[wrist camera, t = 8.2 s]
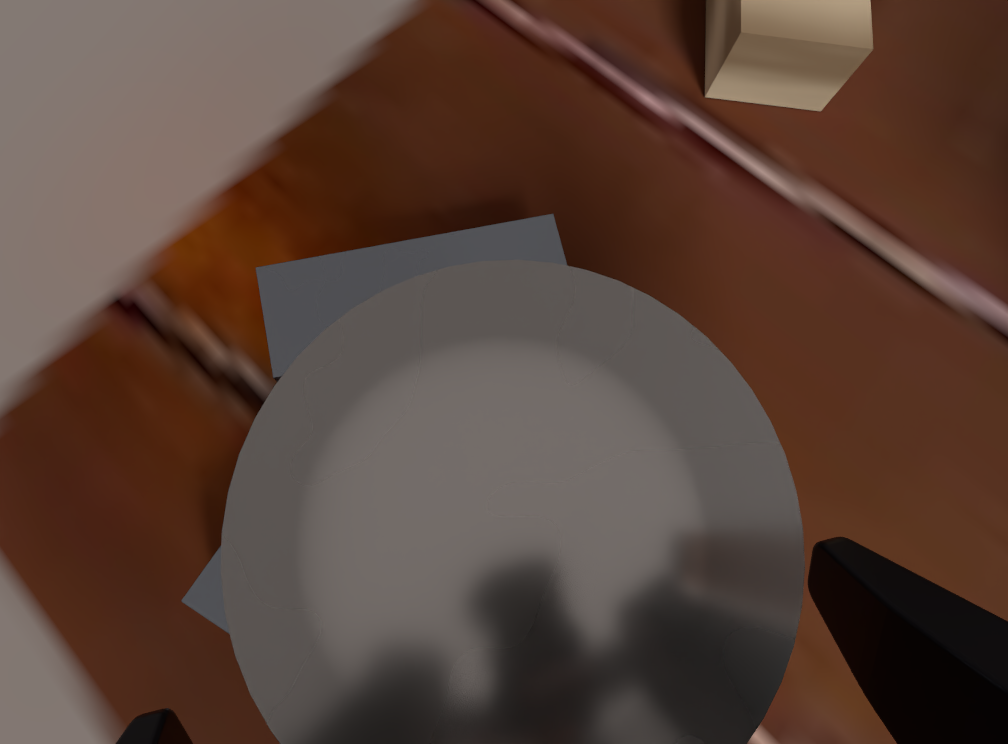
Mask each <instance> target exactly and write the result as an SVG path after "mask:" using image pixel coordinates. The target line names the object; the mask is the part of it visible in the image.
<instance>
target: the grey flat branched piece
mask: <svg viewBox="0 0 1008 744" xmlns="http://www.w3.org/2000/svg"><path fill="white" fill-rule="evenodd" d="M496 260H527V261H539V262H551V263H556V264H561V265H566V266H567V263H566V259H565V256H564V252H563V248H562V244H561V241H560V237H559V233H558V230H557V226H556V222H555V219H554V215H553V214H549V215H544V216H538V217H533V218H527V219H522V220H516V221H510V222H505V223H499V224H494V225H488V226H483V227H477V228H472V229H466V230H461V231H455V232H450V233H444V234H439V235H433V236H428V237H422V238H417V239H411V240H405V241H400V242H394V243H389V244H383V245H378V246H372V247H367V248H361V249H356V250H350V251H345V252H339V253H334V254H328V255H323V256H317V257H312V258H306V259H301V260H295V261H289V262H284V263H278V264H273V265H267V266H262V267H256V273H257V279H258V285H259V292H260V298H261V304H262V310H263V317H264V323H265V329H266V335H267V341H268V348H269V354H270V360H271V366H272V373H273V378H274V379H275V380H276V381H277V382H278V381H279V379H280V378H281V377H282V375H283V374H284V373H285V372H286V370H287V369H288V368H289V367H290V365H291V364H292V363H293V361H294V360H295V359H296V358H297V356H298V355H299V354H300V353H301V352H302V351H303V350H304V349H305V348H306V347H307V346H308V345H309V344H310V343H311V342H313V341H314V340H315V339H316V338H317V337H318V336H319V335H320V334H321V333H322V332H323V331H324V330H325V329H326V328H327V327H329V326H330V325H331V324H333V323H334V322H335V321H337V320H338V319H339V318H341V317H342V316H343V315H344V314H346V313H347V312H348V311H350V310H351V309H352V308H354V307H356V306H357V305H359V304H361V303H362V302H364V301H366V300H367V299H369V298H371V297H373V296H374V295H376V294H378V293H379V292H381V291H383V290H385V289H387V288H390V287H392V286H394V285H397V284H399V283H401V282H404V281H406V280H408V279H410V278H413V277H415V276H418V275H422V274H425V273H429V272H432V271H435V270H439V269H442V268H446V267H449V266H455V265H462V264H468V263H474V262H480V261H496ZM182 602H183V603H185V604H186V605H187V606H189V607H190V608H192V609H193V610H195V611H196V612H198V613H199V614H201V615H202V616H204V617H205V618H207V619H208V620H210V621H211V622H213V623H214V624H216V625H217V626H219V627H220V628H222V629H223V630H225V631H226V632H227V633H229V634H230V632H229V628H228V624H227V620H226V616H225V609H224V600H223V590H222V580H221V546H220V548H219V549H218V550H217V552H216V553H215V555H214V556H213V557H212V559H211V560H210V562H209V563H208V564H207V566H206V567H205V568H204V570H203V571H202V573H201V574H200V575H199V577H198V578H197V580H196V581H195V582H194V584H193V585H192V587H191V588H190V589H189V591H188V592H187V594H186V595H185V596H184V598H183V599H182Z"/></svg>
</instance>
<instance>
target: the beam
mask: <svg viewBox="0 0 1008 744" xmlns="http://www.w3.org/2000/svg"><path fill="white" fill-rule="evenodd" d="M872 50H873V36H872V20H871V3H870V0H706V43H705V97H708V98H717V99H725V100H733V101H741V102H749V103H757V104H765V105H773V106H782V107H790V108H798V109H806V110H814V111H821V110H822V109H823V108H824V107H825V106H826V105H827V103H828V102H829V101H830V100H831V99H832V97H833V96H834V95H835V94H836V93H837V92H838V90H839V89H840V88H841V87H842V86H843V84H844V83H845V82H846V81H847V80H848V78H849V77H850V76H851V75H852V74H853V73H854V71H855V70H856V69H857V68H858V67H859V65H860V64H861V63H862V62H863V61H864V60H865V58H866V57H867V56H868V55H869V54H870V52H871V51H872Z"/></svg>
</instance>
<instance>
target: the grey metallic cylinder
mask: <svg viewBox="0 0 1008 744" xmlns="http://www.w3.org/2000/svg"><path fill="white" fill-rule="evenodd" d="M804 571H805V562H804V542H803V527H802V521H801V515H800V510H799V504H798V498H797V492H796V489H795V485H794V482H793V479H792V475H791V472H790V469H789V465H788V462H787V459H786V456H785V453H784V451H783V449H782V446H781V444H780V442H779V439H778V437H777V435H776V433H775V430H774V428H773V426H772V423H771V421H770V420H769V418H768V416H767V415H766V413H765V411H764V409H763V408H762V406H761V404H760V403H759V401H758V399H757V398H756V396H755V394H754V392H753V391H752V389H751V388H750V387H749V385H748V384H747V383H746V381H745V380H744V379H743V378H742V376H741V375H740V374H739V372H738V371H737V370H736V368H735V367H734V366H733V364H732V363H731V362H730V361H729V360H728V359H727V358H726V357H725V356H724V355H723V353H722V352H721V351H720V350H719V349H718V348H717V347H716V346H715V345H714V344H713V343H712V342H711V341H710V340H709V339H708V338H707V337H706V336H705V335H704V334H702V333H701V332H700V331H699V330H698V329H696V328H695V327H694V326H693V325H691V324H690V323H689V322H688V321H687V320H685V319H684V318H683V317H682V316H680V315H679V314H678V313H676V312H675V311H673V310H671V309H670V308H668V307H667V306H665V305H664V304H662V303H660V302H659V301H657V300H656V299H654V298H653V297H651V296H649V295H647V294H645V293H643V292H641V291H639V290H637V289H635V288H633V287H631V286H628V285H626V284H624V283H622V282H620V281H618V280H615V279H612V278H609V277H606V276H603V275H600V274H597V273H594V272H591V271H588V270H585V269H580V268H576V267H571V266H566V265H561V264H556V263H551V262H539V261H527V260H496V261H480V262H474V263H468V264H462V265H455V266H449V267H446V268H442V269H439V270H435V271H432V272H429V273H425V274H422V275H418V276H415V277H413V278H410V279H408V280H406V281H404V282H401V283H399V284H397V285H394V286H392V287H390V288H387V289H385V290H383V291H381V292H379V293H378V294H376V295H374V296H373V297H371V298H369V299H367V300H366V301H364V302H362V303H361V304H359V305H357V306H356V307H354V308H352V309H351V310H350V311H348V312H347V313H346V314H344V315H343V316H342V317H341V318H339V319H338V320H337V321H335V322H334V323H333V324H331V325H330V326H329V327H327V328H326V329H325V330H324V331H323V332H322V333H321V334H320V335H319V336H318V337H317V338H316V339H315V340H314V341H313V342H311V343H310V344H309V345H308V346H307V347H306V348H305V349H304V350H303V351H302V352H301V353H300V354H299V355H298V356H297V358H296V359H295V360H294V361H293V363H292V364H291V365H290V367H289V368H288V369H287V370H286V372H285V373H284V374H283V375H282V377H281V378H280V379H279V381H278V382H277V383H276V384H275V386H274V387H273V389H272V391H271V392H270V394H269V396H268V397H267V399H266V401H265V402H264V404H263V406H262V407H261V409H260V411H259V412H258V414H257V416H256V417H255V419H254V422H253V424H252V426H251V428H250V431H249V433H248V435H247V437H246V440H245V442H244V444H243V447H242V449H241V451H240V453H239V457H238V460H237V463H236V467H235V470H234V474H233V477H232V480H231V484H230V487H229V491H228V496H227V502H226V508H225V515H224V521H223V527H222V543H221V580H222V590H223V600H224V609H225V616H226V620H227V624H228V628H229V632H230V637H231V641H232V645H233V649H234V653H235V656H236V659H237V661H238V664H239V666H240V669H241V672H242V674H243V677H244V679H245V682H246V684H247V687H248V689H249V692H250V694H251V696H252V698H253V700H254V702H255V703H256V705H257V707H258V709H259V710H260V712H261V714H262V716H263V718H264V719H265V721H266V723H267V725H268V727H269V728H270V730H271V732H272V733H273V734H274V736H275V737H276V738H277V740H278V741H279V742H280V744H747V742H748V741H749V739H750V738H751V736H752V735H753V733H754V732H755V730H756V729H757V728H758V726H759V725H760V723H761V722H762V720H763V719H764V717H765V714H766V712H767V710H768V708H769V706H770V704H771V702H772V700H773V698H774V696H775V694H776V692H777V690H778V688H779V686H780V684H781V682H782V679H783V676H784V673H785V670H786V667H787V664H788V661H789V658H790V655H791V652H792V649H793V647H794V643H795V638H796V633H797V628H798V623H799V618H800V613H801V608H802V598H803V585H804Z"/></svg>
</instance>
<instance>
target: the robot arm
mask: <svg viewBox="0 0 1008 744" xmlns="http://www.w3.org/2000/svg"><path fill="white" fill-rule="evenodd" d="M808 588H809V592H810V595H811V597H812V599H813V601H814V603H815V605H816V607H817V609H818V610H819V612H820V614H821V616H822V618H823V620H824V622H825V623H826V625H827V627H828V629H829V631H830V633H831V634H832V636H833V638H834V640H835V642H836V644H837V645H838V647H839V649H840V651H841V653H842V655H843V657H844V658H845V660H846V662H847V664H848V666H849V668H850V669H851V671H852V673H853V675H854V677H855V679H856V680H857V682H858V684H859V686H860V687H861V689H862V691H863V693H864V694H865V696H866V698H867V699H868V701H869V702H870V704H871V705H872V707H873V708H874V710H875V712H876V713H877V714H878V716H879V717H880V719H881V720H882V722H883V723H884V725H885V726H886V728H887V729H888V731H889V732H890V734H891V735H892V737H893V738H894V740H895V741H896V743H897V744H1008V621H1006V620H1004V619H1002V618H1000V617H998V616H996V615H994V614H992V613H990V612H989V611H987V610H985V609H983V608H981V607H979V606H977V605H975V604H973V603H971V602H969V601H967V600H966V599H964V598H962V597H960V596H958V595H956V594H954V593H952V592H950V591H948V590H946V589H944V588H942V587H941V586H939V585H937V584H935V583H933V582H931V581H929V580H927V579H925V578H923V577H921V576H919V575H917V574H916V573H914V572H912V571H910V570H908V569H906V568H904V567H902V566H900V565H898V564H896V563H894V562H892V561H891V560H889V559H887V558H885V557H883V556H881V555H879V554H877V553H875V552H873V551H871V550H869V549H867V548H866V547H864V546H862V545H860V544H858V543H856V542H854V541H852V540H850V539H848V538H845V537H835V538H831V539H827V540H823V541H819V542H817V543H816V544H815V545H814V547H813V551H812V557H811V563H810V569H809V575H808ZM116 744H193V743H192V741H191V739H190V737H189V736H188V734H187V732H186V731H185V729H184V727H183V726H182V724H181V722H180V721H179V719H178V717H177V716H176V714H175V713H174V711H173V710H171V709H169V708H164V709H160V710H156V711H153V712H149V713H145V714H142V715H139V716H137V717H136V718H135V719H134V720H133V721H132V722H131V723H130V724H129V726H128V727H127V728H126V730H125V731H124V733H123V734H122V735H121V737H120V738H119V740H118V741H117V742H116Z"/></svg>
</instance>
